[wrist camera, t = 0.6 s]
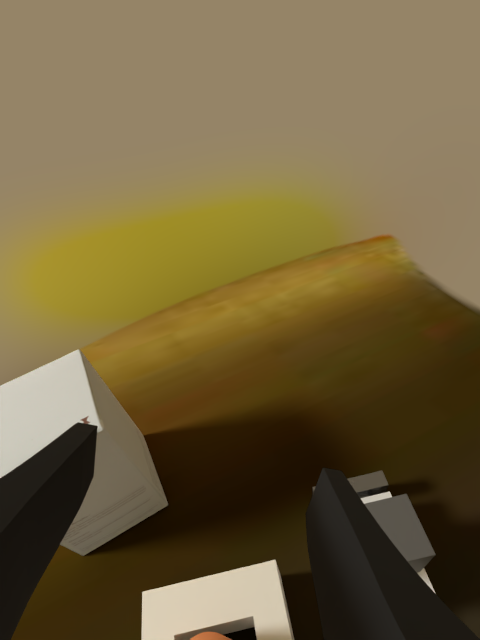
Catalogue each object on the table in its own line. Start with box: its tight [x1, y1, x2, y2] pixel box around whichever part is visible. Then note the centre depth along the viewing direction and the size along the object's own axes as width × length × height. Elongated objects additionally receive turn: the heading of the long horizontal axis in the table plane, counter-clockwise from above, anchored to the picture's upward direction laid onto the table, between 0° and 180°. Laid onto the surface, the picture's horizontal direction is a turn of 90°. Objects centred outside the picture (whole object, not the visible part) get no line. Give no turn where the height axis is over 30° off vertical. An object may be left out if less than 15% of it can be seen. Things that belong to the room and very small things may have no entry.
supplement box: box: [0, 350, 168, 556], centre depth 26 cm, size 7×7×13 cm
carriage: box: [360, 491, 436, 594], centre depth 22 cm, size 6×5×7 cm
